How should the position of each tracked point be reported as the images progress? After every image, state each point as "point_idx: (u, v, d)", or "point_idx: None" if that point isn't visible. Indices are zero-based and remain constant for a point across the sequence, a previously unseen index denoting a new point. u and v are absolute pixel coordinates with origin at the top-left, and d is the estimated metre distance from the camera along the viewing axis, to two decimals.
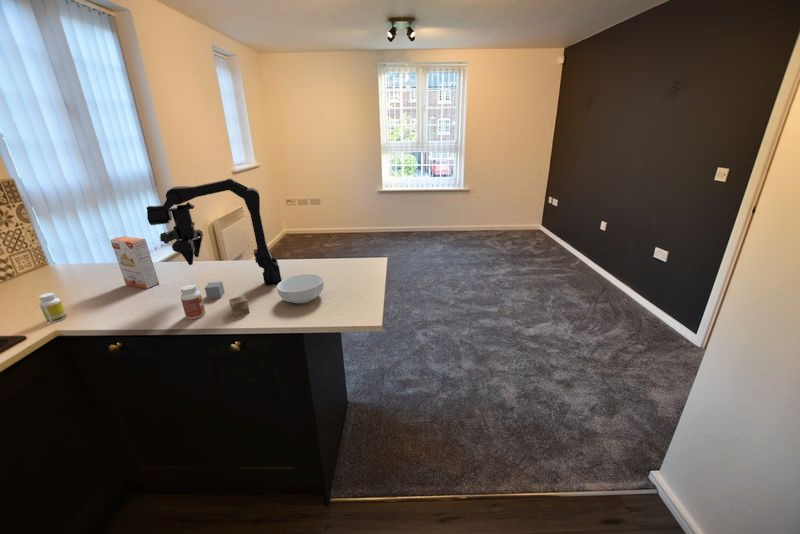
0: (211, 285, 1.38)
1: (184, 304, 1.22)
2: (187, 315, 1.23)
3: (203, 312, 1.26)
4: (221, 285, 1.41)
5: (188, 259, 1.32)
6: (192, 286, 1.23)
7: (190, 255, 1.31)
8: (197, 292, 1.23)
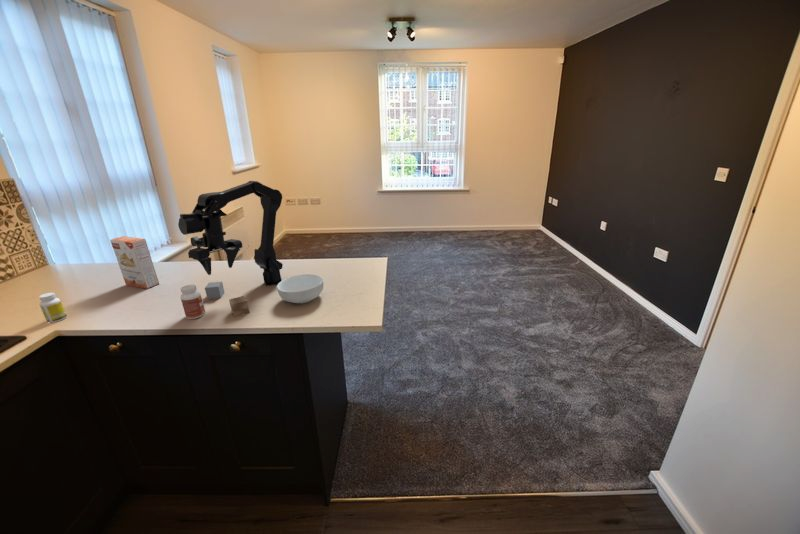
0: (211, 285, 1.38)
1: (184, 304, 1.22)
2: (187, 315, 1.23)
3: (203, 312, 1.26)
4: (221, 285, 1.41)
5: (206, 269, 1.26)
6: (192, 286, 1.23)
7: (206, 265, 1.25)
8: (197, 292, 1.23)
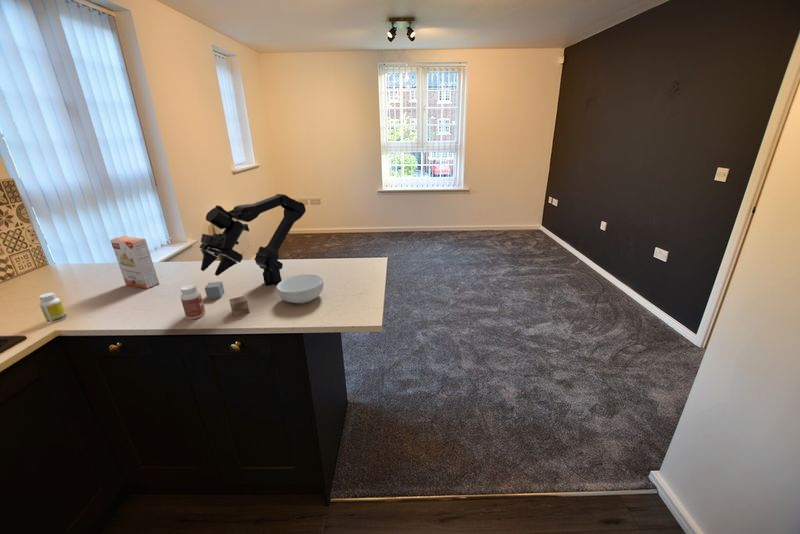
0: (211, 285, 1.38)
1: (184, 304, 1.22)
2: (187, 315, 1.23)
3: (203, 312, 1.26)
4: (221, 285, 1.41)
5: (220, 269, 1.25)
6: (192, 286, 1.23)
7: (226, 267, 1.26)
8: (197, 292, 1.23)
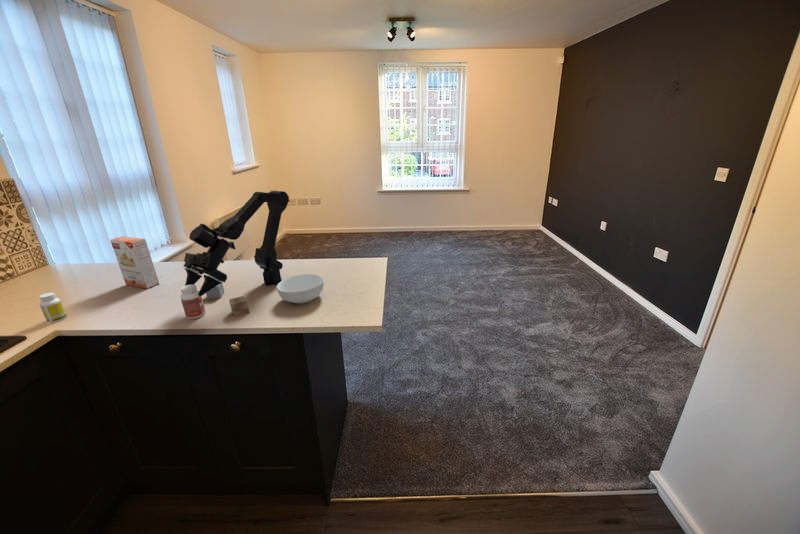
0: None
1: (184, 304, 1.22)
2: (187, 315, 1.23)
3: (203, 312, 1.26)
4: (221, 285, 1.41)
5: (203, 290, 1.22)
6: (192, 286, 1.23)
7: (210, 287, 1.23)
8: (197, 292, 1.23)
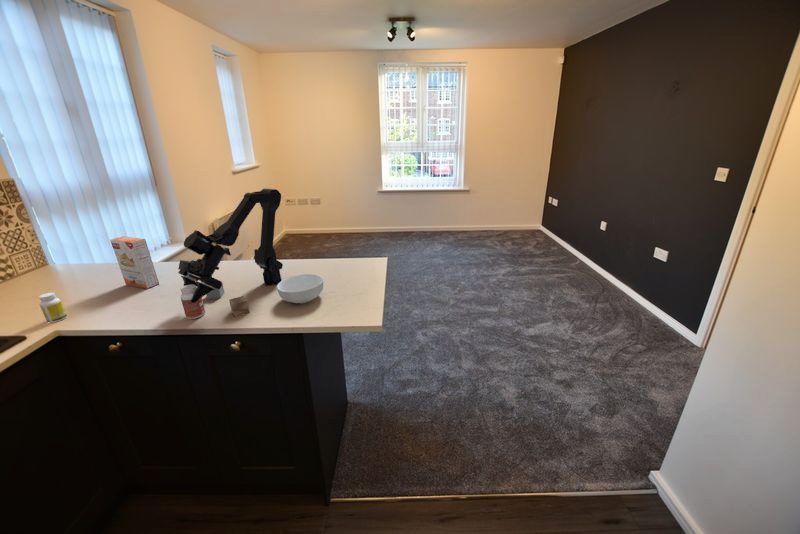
0: None
1: (184, 304, 1.22)
2: (187, 315, 1.23)
3: (203, 312, 1.26)
4: None
5: (196, 296, 1.21)
6: (192, 286, 1.23)
7: (203, 293, 1.22)
8: None
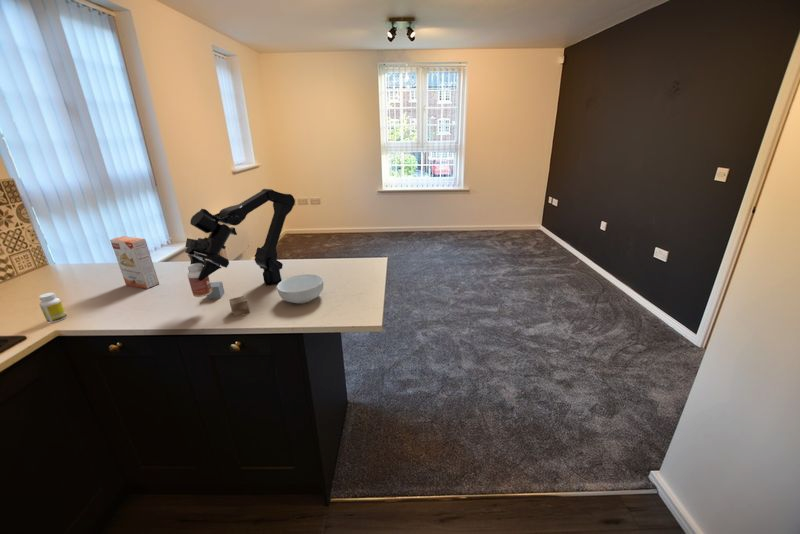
0: (211, 285, 1.38)
1: (191, 282, 1.22)
2: (194, 293, 1.24)
3: (210, 290, 1.26)
4: (221, 285, 1.41)
5: (203, 274, 1.22)
6: (199, 264, 1.23)
7: (210, 271, 1.23)
8: None
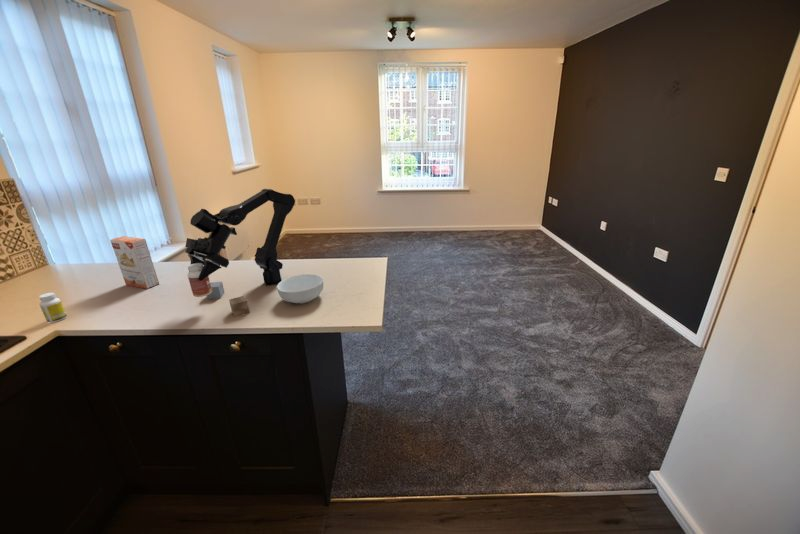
0: (211, 285, 1.38)
1: (191, 282, 1.22)
2: (194, 293, 1.24)
3: (210, 290, 1.26)
4: (221, 285, 1.41)
5: (203, 274, 1.22)
6: (199, 264, 1.23)
7: (210, 271, 1.23)
8: None
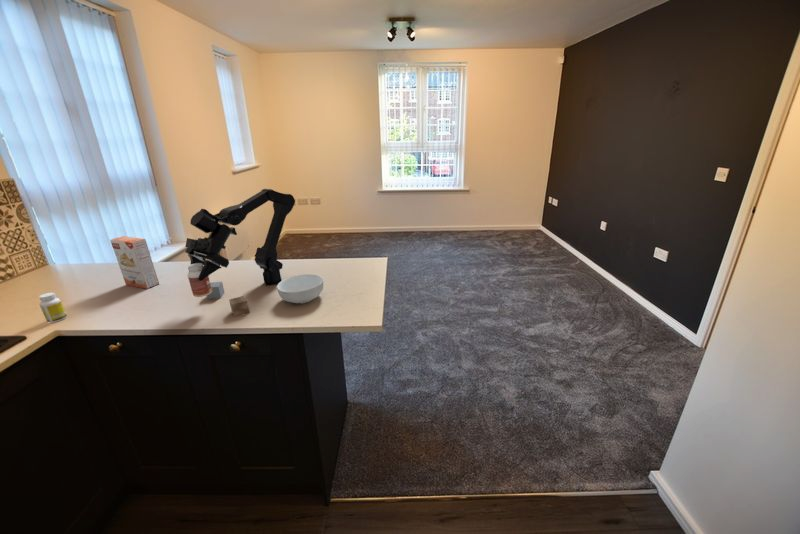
0: (211, 285, 1.38)
1: (191, 282, 1.22)
2: (194, 293, 1.24)
3: (210, 290, 1.26)
4: (221, 285, 1.41)
5: (203, 274, 1.22)
6: (199, 264, 1.23)
7: (210, 271, 1.23)
8: None
